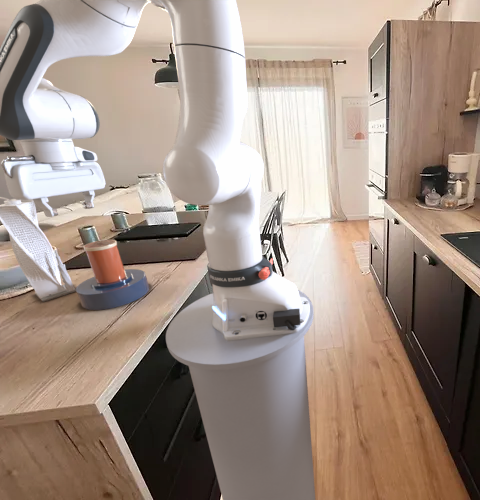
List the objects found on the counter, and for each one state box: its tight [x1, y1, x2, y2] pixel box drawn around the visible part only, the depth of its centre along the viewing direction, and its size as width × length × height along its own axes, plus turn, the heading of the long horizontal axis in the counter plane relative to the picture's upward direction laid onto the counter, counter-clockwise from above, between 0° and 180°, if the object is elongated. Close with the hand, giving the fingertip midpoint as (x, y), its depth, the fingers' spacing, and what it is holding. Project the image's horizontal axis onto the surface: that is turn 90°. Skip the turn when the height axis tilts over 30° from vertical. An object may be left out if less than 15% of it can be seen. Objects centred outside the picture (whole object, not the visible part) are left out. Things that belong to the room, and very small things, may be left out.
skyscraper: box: [0, 196, 76, 303], centre depth 76 cm, size 8×8×28 cm
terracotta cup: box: [82, 239, 126, 284], centre depth 76 cm, size 7×7×10 cm
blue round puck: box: [75, 268, 150, 311], centre depth 79 cm, size 15×15×5 cm
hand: (72, 212), depth 73 cm, fingers open, 8 cm apart
